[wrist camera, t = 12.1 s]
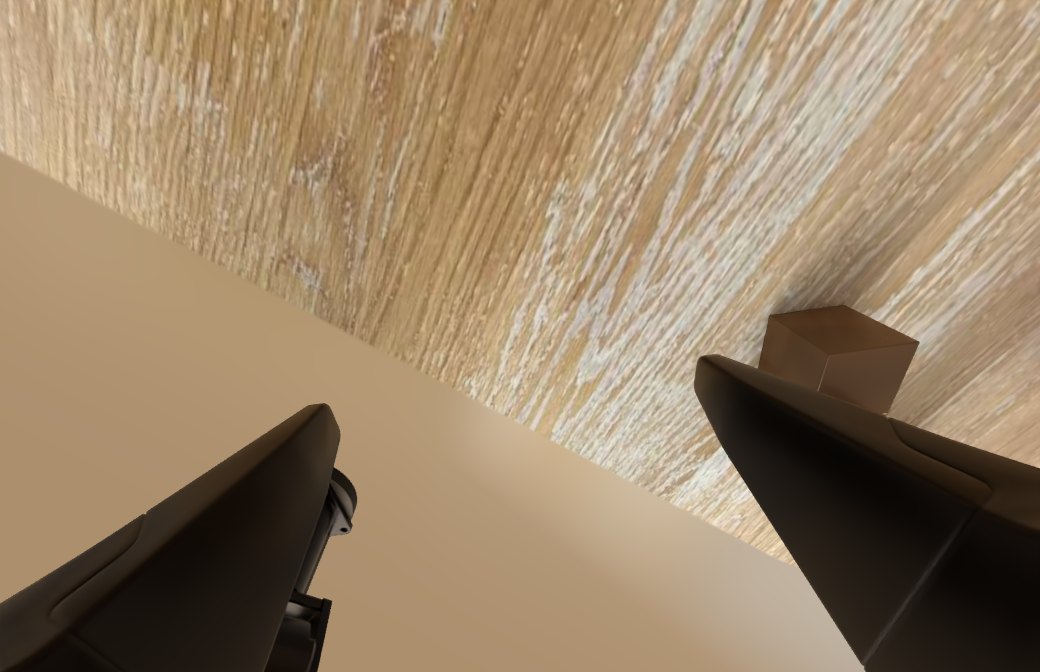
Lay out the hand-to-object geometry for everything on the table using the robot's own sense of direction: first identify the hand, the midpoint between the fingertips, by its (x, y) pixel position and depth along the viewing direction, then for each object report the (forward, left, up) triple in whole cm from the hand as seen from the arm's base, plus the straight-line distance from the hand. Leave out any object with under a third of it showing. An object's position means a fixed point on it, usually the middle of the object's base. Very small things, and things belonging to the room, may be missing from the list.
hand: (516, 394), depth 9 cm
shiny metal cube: (-8, -17, -12) cm, 22 cm away
